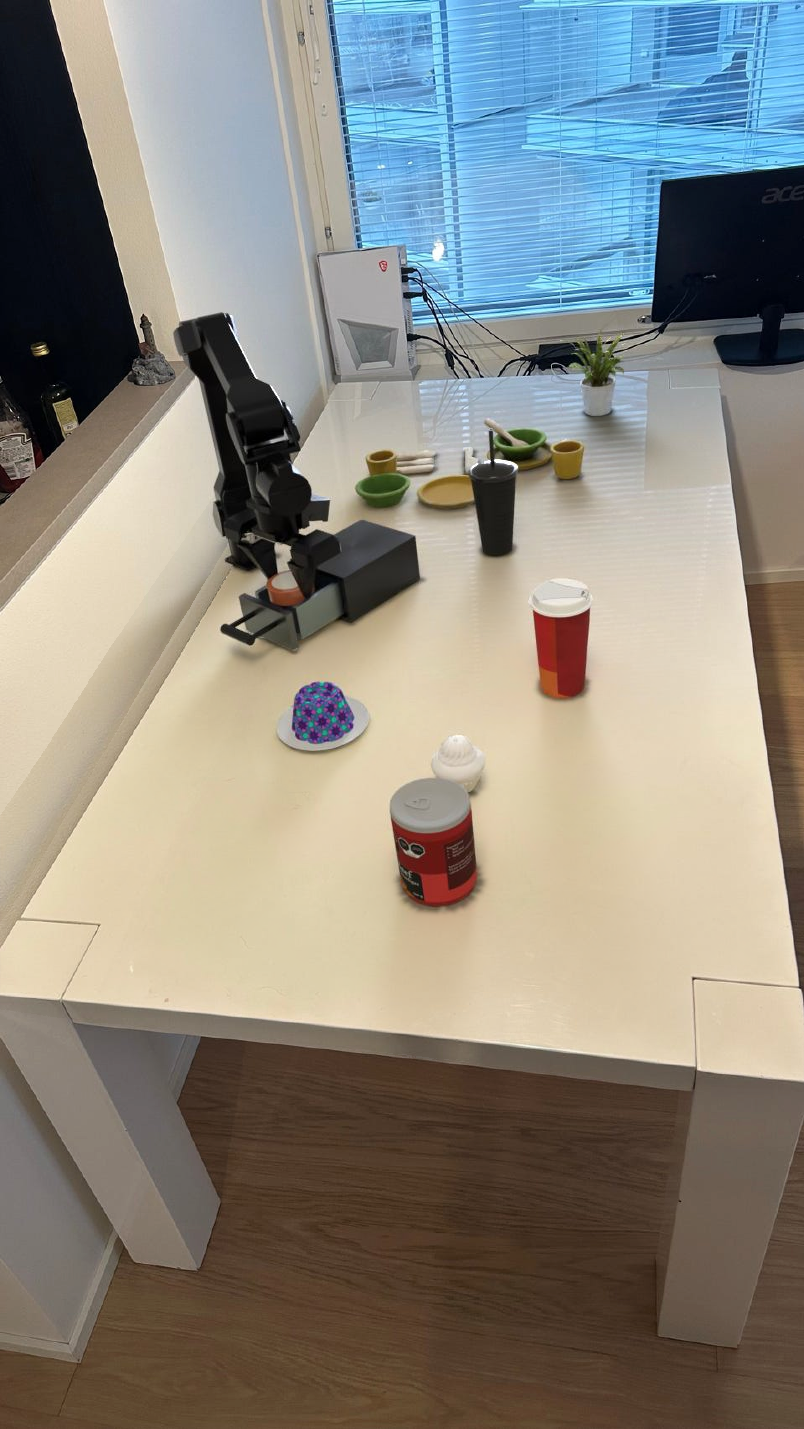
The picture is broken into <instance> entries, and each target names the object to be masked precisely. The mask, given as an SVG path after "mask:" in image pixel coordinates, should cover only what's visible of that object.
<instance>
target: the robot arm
mask: <svg viewBox="0 0 804 1429" xmlns="http://www.w3.org/2000/svg"><path fill="white" fill-rule="evenodd" d="M237 330H238V329H237V327H236V324H235V319H234V316H233V315H232V314H231V315H230V314H229V313H228V312H223V311H220V312H217V313H210V314H207V315H201V316H197V317H195V318H191V319H186V320H182V321H179V322H178V327H176V328H175V329H174V331H173V333H172V334H173V341H174V345H175V348H176V351H177V354H178V355H179V357H182V360H183V363H184V364H185V366H186V368H188V369H189V370H190V371H191V372H192V374H194V376H195V377H196V378H197V380H198V383H199V387H200V391H201V395H202V399H203V404H204V408H205V412H206V418H207V422H208V425H209V426H208V427H209V430H210V435H211V440H212V443H213V448H214V451H215V452H214V453H215V455H216V456H215V457H216V462H217V465H218V474H217V477H216V479H215V482H214V485H213V492H214V498H215V500H214V501H212V502H213V503H212V517H213V521H214V524H215V528H216V529H217V532H219V534H220V535H221V537H222V538H226V540H227V542H228V547H229V551H230V555H229V556H227V557H225V558H224V562H225V563H226V564H230V565H232V566H235V567H238V568H240V569H243V570H244V571H252V570H253V569H255V568H258V570H259V571H260V572H261V574H262V575H263V576H264V577H265V579H266V580H268V579H269V578H271V577H272V576H273V575H275V574H277V573H279V570H278V563H277V552H276V547H275V546H276V544H277V545H280V546H282V545H284V546H288V547H290V549H289V553H290V559H291V558H292V560H290V559H289V560H288V561H286V566H287V567H288V570H290V571H291V573H292V575H293V577H294V579H295V581H296V583H297V585H298V587H299V589H300V591H301V592H302V594H303V596H304V597H305V598H307V597H309V596H310V595H311V594H312V589H313V584H314V579H315V574H316V570H317V566H319V565H321V564H322V563H324V562H326V561H328V560H329V559H331V558H333V557H335V556H336V555H338V554H340V553H341V546H340V540H339V538H338V537H337V536H335V535H334V534H333V533H330V532H327V531H324V530H321V529H318V528H316V529H314V530H312V531H311V532H309V533H306V534H304V533H300V530H305V529H307V528H309V527H310V526H311V525H310V522H319V521H320V522H323V523H326V522H328V521H329V516H330V515H329V514H330V504H331V498H328V497H325V496H322V495H318V494H315V493H313V489H312V485H311V484H310V482H309V481H308V479H307V478H306V476H304V474H302V473H301V472H300V470H298V469H297V467H296V466H294V464H293V461H292V458H291V454H295V453H299V452H301V450H302V449H301V446H300V441H301V434H300V432H299V429H298V427H297V424H296V422H295V419H294V416H293V414H292V412H291V409H290V408H289V407H288V406H287V404H286V401H285V400H283V399H280V397H279V396H278V394H277V392H276V391H275V389H274V387H273V386H272V385H271V384H269V383H267V382H266V381H263V380H260V379H258V377H257V375H256V374H255V372H254V370H253V368H252V366H251V364H250V362H249V360H248V358H247V356H246V354H245V352H244V350H243V348H242V346H241V344H240V338H239V335H238V331H237ZM285 434H286V436H287V438H286V439H282V438H284V437H285ZM277 439H282V440H278V441H275V442H273V440H277Z"/></svg>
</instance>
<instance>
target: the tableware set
mask: <svg viewBox="0 0 804 1429" xmlns="http://www.w3.org/2000/svg"><path fill="white" fill-rule="evenodd" d="M483 424H484V425H485V426H486V427H487V428H489V429H493V432H495V433H496V434H497V435H495V436H494V437H493V439H494V456H495V459H499V460H504V461H509V462H512V463H514V464H516V465H517V467H518V471H523V470H530V469H534V468H537V467H540V466H543V465H545V464H546V463H548V462H549V461H550V460H551V461H552V465H553V471H554V475H555V477H556V478H558V479H562V480H570V479H575V478H577V477H579V476H580V475H581V472H582V467H583V466H582V464H583V459H584V451H585V445H584V443H583V442H581V441H578V440H571V439H569V438H565V439H562V441H559V442H557V443H553V444H552V443H550V442H548V441H547V438H548V437H547V434H546V433H545V432H543V431H542V430H539V429H536V428H528V427H527V428H525V427H524V428H523V427H521V428H513V429H508V430H506V429H504V428H503V427H502V426H501V425H500V424H499V423H497V422H495V420H493V419H492V418H489V417H488V418H487V417H486V418H485V419H484V421H483ZM464 449H465V450H464V461H465V462H464V463H465V464H464V471H465V472H464V473H465V474H454V475H453V474H452V475H444V476H442V477H437V478H433V479H431V480H429V481H427V482H424V483H423V484H422V485H421V486H419V487H418V489H417V491H416V495H417V498H418V499H419V500H420V501H421V502H422V503H424V504H425V505H426V506H429V507H432V508H436V509H458V508H463V507H467V506H471V505H473V504H475V501H474V495H473V489H472V483H471V478H470V477H469V475H468V471H469V469H470V468H471V467H472V466H474V465H476V464H478V463H479V459H478V457H477V458H476V457H473V455H474V447H472V446H468V447H466V448H464ZM435 456H436V452H435V451H433V450H420V451H417V452H414V453H409V454H398V453H397V451H395V450H393V449H379V450H374V451H371V452H369V453H368V454H367V455H366V456H365V458H364V459H365V462H366V466H367V469H368V472H369V475H370V476H367V477H365V478H363V479H361V480H359V481H358V482H357V483H356V484H355V487H354V490H355V492H356V494H357V495H358V496H360V497H361V499H363V500H364V501H365V502H366V504H367V505H368V506H369V507H372V508H374V509H376V508H377V509H386V508H390V507H391V508H392V507H394V506H396V505H398V504H399V503H400V502H402V500H403V498H404V496H405V494H406V492H407V490H408V489H410V486H411V479H410V478H409V477H408V476H406V475H409V474H419V473H420V474H421V473H430V472H433V471H434V469H435V464H434V462H435V458H434V457H435ZM486 458H487V460H490V449H488V450H487V453H486Z"/></svg>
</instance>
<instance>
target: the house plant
mask: <svg viewBox="0 0 804 1429" xmlns="http://www.w3.org/2000/svg"><path fill="white" fill-rule="evenodd" d="M602 331H603V329H600V331H599V333H598V335H597V340H596V347H595V353H592V352H591V350H590V346H589V343H588V342H587V340H586V339H585V337H583V336H581V335H578V334H577V335H578V336H577V337H576V339H575V341H576V343H577V344H579V347H580V348H575V349H574V351H578V352H579V353H578V352H574V353H572V355H573V354H575V355H576V356H577V357H579V359H580V360H581V362H582V363H583V365H584V366H583V365H582V364H580V363H578V362H572V363H570V364H569V365H568V368H572V369H571V371H572V370H573V371H574V370H577V372H579V371H581V372H582V373H583V374H584V375H585V378H583V379H581V380H580V382H579V385H580V390H581V396H582V403H583V408H584V413H585V414H586V415H587V416H591V417H601V416H605V415H606V416H607V415H608V414H610V412H611V410H612V405H613V398H614V393H615V386H616V374H617V372H616V371H615V370H617V371H619V372H621V373H622V374H623V375H625V370H624V368H623V367H621V366H616V365H618V364H620V363H622V362H623V363H624V362H625V361H624V360H623V356H616V357H612V356H613V354H614V353H615V348H616V347H617V346H618V344H619V342H620V340H621V338H622V337H623V336H624V335H625V334H626V332H624V333H621V334H620V335H617V337H616V338H615V339H614V340H613V341H612V343H611V344H610V345H609V347H608V348H607V350H604V351H603V347H604V346H605V345H606V343H607V342H608V341H609V340H610V339H611V338H612V337H613V335H611V337H608V338H607V339H606V340H605V342H604V343H603V340H602V337H601V334H602ZM578 337H580V338H582V339H583V341H584V343H583V341H582V340H581V339H580V338H578ZM557 341H559V342H566V343H569V344H570V345H573V346H574V344H573V343H572V342H570V341H567V340H563V339H557ZM626 344H627V342H625V343H622V344H621V345H619V346H618V347H617V349H619V348H620V347H622V346H623V345H626ZM580 351H581V352H583V353H584V354H585V356H586V357H584V356H583V354H582V353H581V352H580ZM586 359H587V360H586ZM610 375H613V376H614V377H612V376H610Z"/></svg>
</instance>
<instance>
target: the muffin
mask: <svg viewBox="0 0 804 1429" xmlns="http://www.w3.org/2000/svg"><path fill="white" fill-rule="evenodd" d="M430 761H431V762H430V766H431V770H432V772H433V774H434V776H435V778H444V779H448V780H451V781H454V782H456V783H458V784H459V785H461V786H462V787H463V788H464V789H465V790H466V791H467V793H468V794H469V793H471V792H472V791H473V789H474V788H475V787H476V785H477V784H478V781H479V780H480V778H481V776H482V775H483V771H484V769H485V766H486V758H485V756H484V753H483V752H482V750H480V749H479V748H478V747H477V746H475V745H474V744H473V743H472V741H471V740H470V738H468V737H467V736H464V735H460V734H456V735H455V734H452V735H451V736H448V737H447V738H445V739H444V740H443V742H442V743H441V744H440V748H439V749H438V750H437V751H436V752H435V753H434V755H433V756H432V758H431V760H430Z"/></svg>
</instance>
